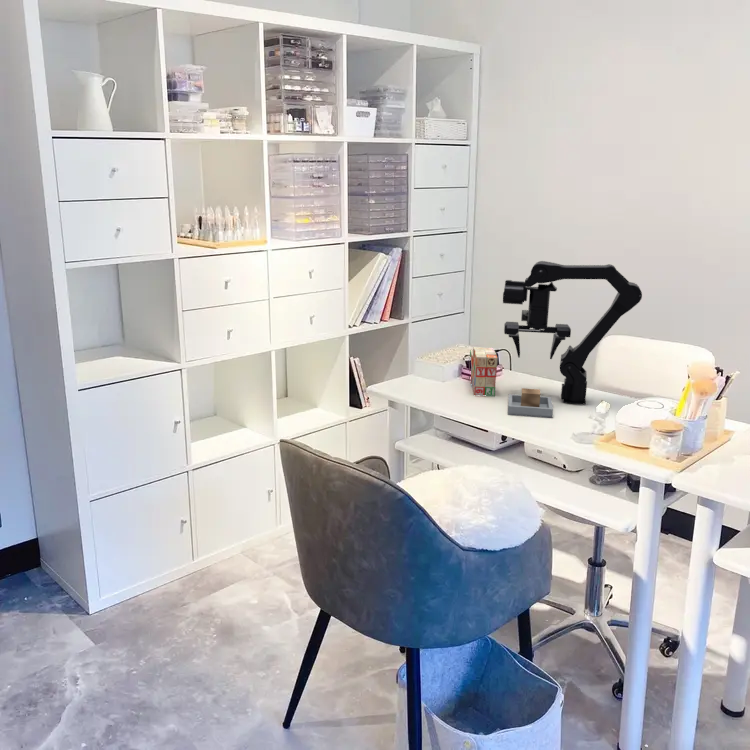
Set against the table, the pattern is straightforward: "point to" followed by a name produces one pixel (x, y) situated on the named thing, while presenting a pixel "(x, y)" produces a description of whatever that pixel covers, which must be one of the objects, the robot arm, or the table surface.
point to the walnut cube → (530, 397)
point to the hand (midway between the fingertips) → (534, 358)
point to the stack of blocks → (483, 371)
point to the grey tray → (541, 411)
